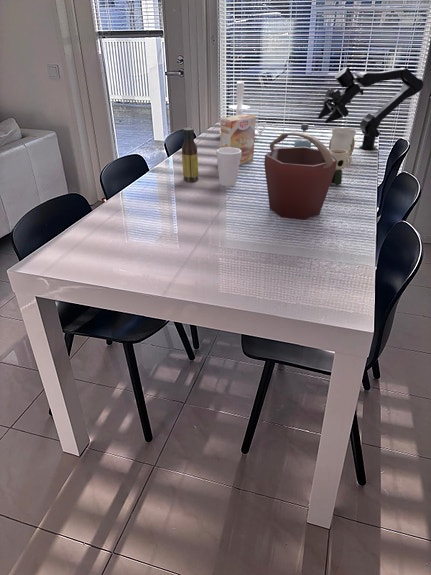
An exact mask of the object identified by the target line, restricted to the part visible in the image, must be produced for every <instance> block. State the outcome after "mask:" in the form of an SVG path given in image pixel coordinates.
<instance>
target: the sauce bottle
mask: <svg viewBox="0 0 431 575" xmlns="http://www.w3.org/2000/svg"><path fill="white" fill-rule="evenodd" d="M182 133H183V143H182V145H181V160H182V175H183V180H184V181H185V182H187V183H193V182H197V181H198V180H199V156H198V155H199V153H198V146H197V144H196V142H195V136H194V134H195V130H194V128H193V127H183V129H182Z"/></svg>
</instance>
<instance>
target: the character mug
mask: <svg viewBox="0 0 431 575" xmlns="http://www.w3.org/2000/svg"><path fill="white" fill-rule="evenodd" d="M328 150H329V149H328ZM329 152H331V153H332V154H333V156H334V157H335V159H336V160H337V164H336V171H335V173H334V176H333V179H332V182H331V184H330V186H332V184H333V186H341V184H342V180H343V171H342V170H343V169H345V167H346V166H351V165H352V161H353V158H352V157H351V156H350V157H347V155H348V151H346V150H343V149H330V150H329ZM347 159H348V160H347ZM346 160H347V161H348V162H347V161H346Z"/></svg>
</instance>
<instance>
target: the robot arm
mask: <svg viewBox="0 0 431 575" xmlns="http://www.w3.org/2000/svg"><path fill="white" fill-rule="evenodd" d="M334 79H335V80H336V82H337V84H339V85H340V87H341V88H342V89H343V88H345V89H344V90H342V91H341V90H339V89H337V88H336V89H332V88H328V89H327V91H326V93H325V94H324V95H325V96H327V97H325V98H324V99H323V100H322V101H323V102H322V104H323V105H322V106H323V108H322V109H321V111H320V112H319V115H318V116H317V119H318V120H320V119H323V118H324V117H326V116H328V115H329V116H328V117H327V118H326V120H325V122H324V123H325V124H329V123H331V122H334V121H336V120H339V119H343V118H346V117H347V116H348V115H349V109H348V108H347V105H350V104H351V103H352V100H353V99H354V98H355V97H356V96H357V95H360V96H363V95H364V90H365V89H364V88H362V87H365V88H367V87H370V86H373V85H375V84H377V83H379V82H385V81H391V80H398V79H400V80H401V82H402V83H403V84H402V86H401V88H400V90H399V91H398V92H397V93H396V94H395V95H394V96H393V97H392V98H391V99H389V100H388V101H387V102H386V103H385V104H384V105H383V106H382V107H380V109H378V110H377V111H376V112H375V113H374V114H373V113H369V112H368V113H367V114H366V116H365V117H363V118H362V120H361V121H360V123H359V128H360V130H361V133H362V134H363V139H362V143H361V145H360V146H358V148H359V149H364V150H368V151H372V150H374V149H377V146H375V142H376V138H379V136H380V134H381V132H380V131H379V129H378V128H379V127H380V125H381V123H382V121H383V120H384V119H385V118H386V117H388V115H389V114H391V113H392V112H394V111H395V109H396V108H398V107H399V106H400V105H401V104H403V102H404V101H406V99H408V98H411V97H413V96H415V95H416V94H418V93H419V92H421V91H422V90H423V86H424V81H423V80H422V79H420V78H418V77H417V76H416V75H415V74H413V73H412V72H411V71H410V70H409V69H408V68H405V67H400V68H395V69H390V70H389V69H388V70H383V71H377V72H375V71H360V72H359V73H358V74H353V73H352V71H351V69H350V68H349V67H347V66H346V67H345V68H343V69H341V70H340V71H338V72H337V73H336V74H335V76H334ZM360 86H361V87H360Z"/></svg>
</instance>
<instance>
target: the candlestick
mask: <svg viewBox="0 0 431 575" xmlns="http://www.w3.org/2000/svg"><path fill="white" fill-rule="evenodd" d="M244 91H245V82H244V81H242V80H237V81H236V104H231V105H228V108H229V109H232V110H235V114H234V116H238V115H244V114H243V111H245V110H247V109H250V108H251V106H250V105H245V104H244ZM265 124H267V122H259V123H257V124H256V125H255V137H256V136H258V137H259V136H261V135H262V133H263V132H264V131H265V129H266V126H265ZM259 125H262V127H263V128H262V129H261V130H260V129H259V128H258V127H259ZM218 132H219V133H221V129H219V131H218Z"/></svg>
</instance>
